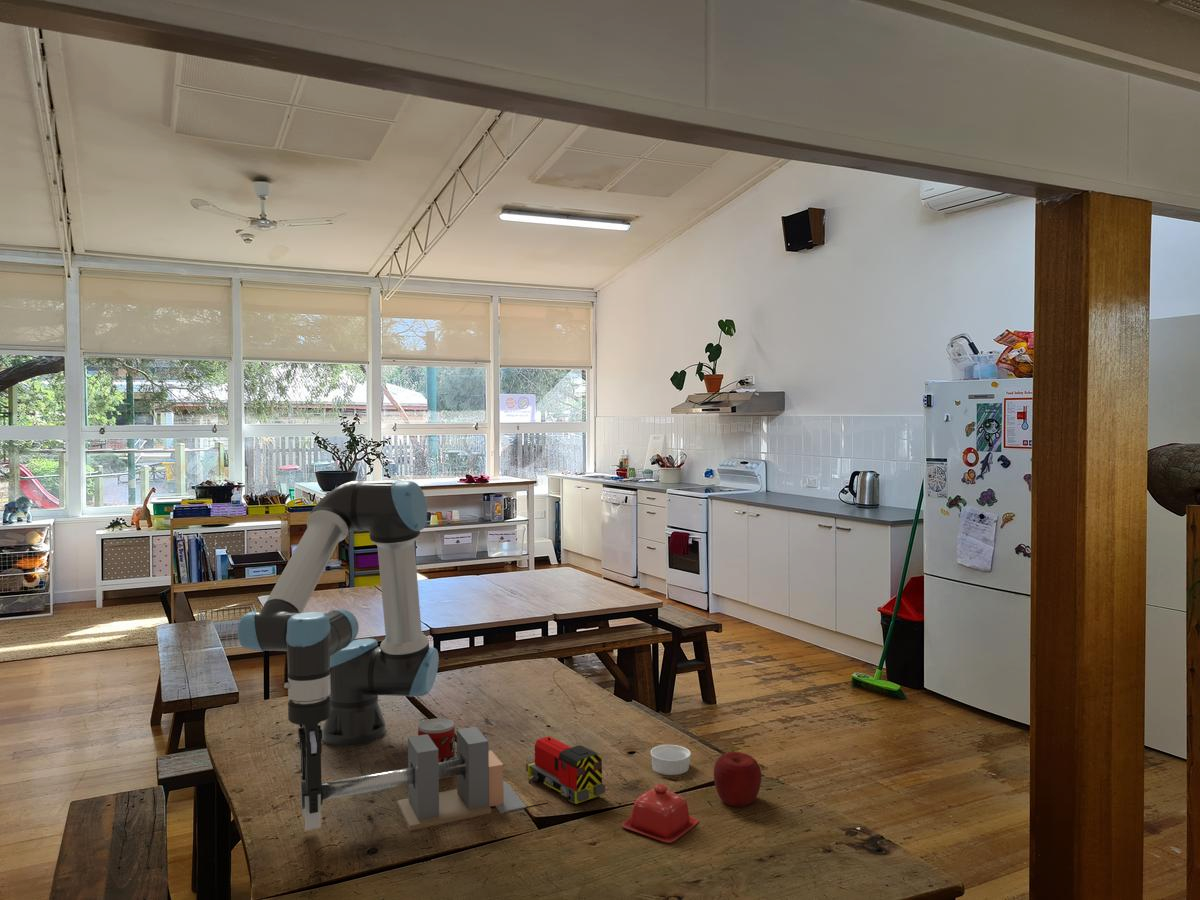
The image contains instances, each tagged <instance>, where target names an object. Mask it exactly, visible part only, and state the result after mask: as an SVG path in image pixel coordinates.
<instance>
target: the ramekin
mask: <svg viewBox="0 0 1200 900" xmlns="http://www.w3.org/2000/svg"><path fill="white" fill-rule="evenodd" d="M691 756H692V752H691V751H690V750H689V749H688V748H686V747H684V746H682V745H676V744H660V745H657V746H655V747H653V748H651V750H650V757H651V767H652V770H653V771H654V772H655V773H658V774H661V775H667V776H676V775H681V774H684V773H687V772H688V771H689V768H690V760H691Z"/></svg>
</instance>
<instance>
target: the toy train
mask: <svg viewBox="0 0 1200 900" xmlns="http://www.w3.org/2000/svg"><path fill="white" fill-rule="evenodd" d="M602 758H603V757H602V755H601V754H600V753H598V752H596V751H594V750H592V749H589V748H588V747H585V746H584V745H576V746H572V747H571V746H569V745H567V744H565V743H563V742H562V741H560V740H557V739H555V738H553V737H551V736H549V735H548V736H544V737H540V738H538V739H537V740H536V741H535V744H534V760H533V761H531V762H527V763H526V764H525V771H526V772H527V775H528V777H529V778H530V777H531V778H530V779H531V780H533V781H535V782H536V781H538V780H539V779H540V780H542V781H543V784H544V785H545V786H546V785H547V786H548V787H547V786H546V787H547V788H549V787H550V788H549V789H553V790H555V791H557V792H559V794H560V795H562V797H564V796H565V798H569V797H570V799H568V801H569V802H570V803H572V804H576V805H577V804H579V803H580V804H581V803H583V802H586V801H588V800H591V799H594V798H597V797H599V796H603V795H604V794H605V793H606V785H605V784H604V782H603V760H602ZM532 776H533V777H532Z"/></svg>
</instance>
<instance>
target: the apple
mask: <svg viewBox="0 0 1200 900" xmlns="http://www.w3.org/2000/svg"><path fill="white" fill-rule="evenodd" d="M713 782H714V786H715V790H716V792H717V794H718V796H719V799H721V801H722V803H723V804H725V805H727V806H731V807H739V808H741V807H745V806H749V805H751V804H752V803H753V802H754V801H755V800H756V798H757V797H758V795H759V791H760V788H761V785H762V770H761V766H760V764H759V763H758V761H757V760H756V759H755V758H754V757H752V756H751V755H749V754H747V753H744V752H739V751H728V752H727V751H726V752H724V753H722V754H721V755H720V756H719V757H717V759H716V761H715V764H714V768H713Z"/></svg>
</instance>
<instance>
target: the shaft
mask: <svg viewBox="0 0 1200 900" xmlns="http://www.w3.org/2000/svg"><path fill="white" fill-rule="evenodd" d="M462 774H466V764H465V759H464V758H462V759H457V758H455V760H451V761H445V762H439V780H441V778H443V779H446V777H447V778H450V777H457V775H462ZM413 783H415V768H414V767H411V768H408V767H405V768H400V769H394V770H389V771H383V772H379V773H378V772H377V773H372V774H371V773H370V774H365V775H361V776H359V775H358V776H355V777H349V778H343V779H338V780H337V779H336V780H332V781H327V782H325V781H324V782H322V781H321V787H322V794H321V806H323V803H324V802H323V801H325V800H332V799H336V798H337V799H338V798H340V797H345V796H346V797H347V796H352V795H357V794H358V795H359V794H364V793H370V792H374V791H380V790H386V789H391V788H397V787H402V786H407V785H408V784H413ZM299 789H300V790H299V794H300V795H299V796H300V807H301V810H302V809H305V796H304V797H302V793H304V792H305V791H306V781H305V780H304V781H300V783H299Z"/></svg>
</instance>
